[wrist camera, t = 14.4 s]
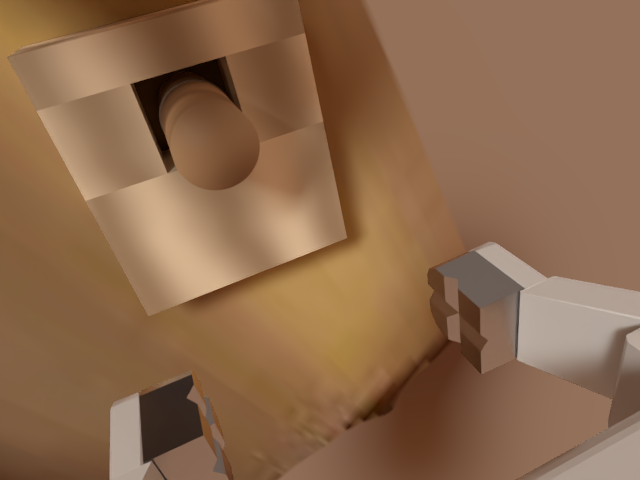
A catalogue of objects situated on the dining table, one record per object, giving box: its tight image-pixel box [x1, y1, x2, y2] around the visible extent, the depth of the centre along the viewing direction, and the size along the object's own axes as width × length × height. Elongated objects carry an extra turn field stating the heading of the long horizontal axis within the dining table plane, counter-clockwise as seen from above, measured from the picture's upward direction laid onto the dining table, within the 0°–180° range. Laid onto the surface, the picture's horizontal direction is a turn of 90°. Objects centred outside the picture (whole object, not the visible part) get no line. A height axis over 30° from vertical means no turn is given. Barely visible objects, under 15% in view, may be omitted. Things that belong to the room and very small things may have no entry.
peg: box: [158, 72, 260, 190], centre depth 24 cm, size 4×4×10 cm
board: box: [7, 0, 347, 316], centre depth 28 cm, size 14×16×4 cm
